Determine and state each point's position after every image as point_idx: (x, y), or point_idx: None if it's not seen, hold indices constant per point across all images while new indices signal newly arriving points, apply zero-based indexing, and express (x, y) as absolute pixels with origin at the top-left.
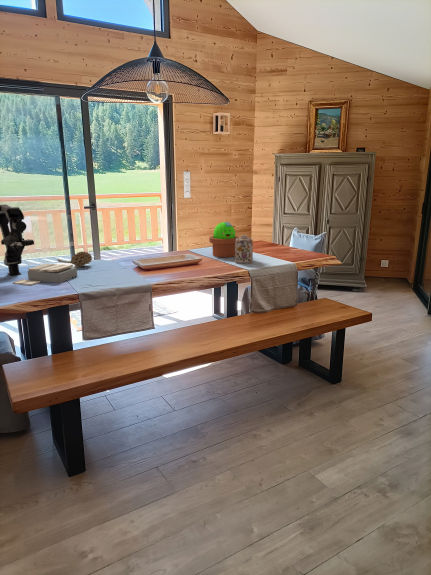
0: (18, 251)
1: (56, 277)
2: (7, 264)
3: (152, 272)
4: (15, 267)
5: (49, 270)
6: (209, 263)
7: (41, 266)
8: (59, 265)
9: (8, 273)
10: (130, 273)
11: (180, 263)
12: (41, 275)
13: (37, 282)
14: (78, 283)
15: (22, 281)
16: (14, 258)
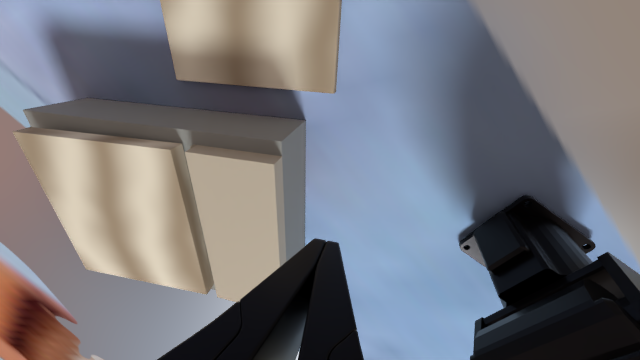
0: (252, 310)
1: (70, 106)
2: (606, 263)
3: (2, 281)
4: (505, 263)
5: (80, 136)
6: (3, 349)
7: (234, 240)
8: (143, 260)
9: (578, 240)
10: (32, 271)
11: (45, 356)
12: (170, 118)
13: (170, 45)
14: (12, 107)
15: (283, 30)
16: (530, 337)
